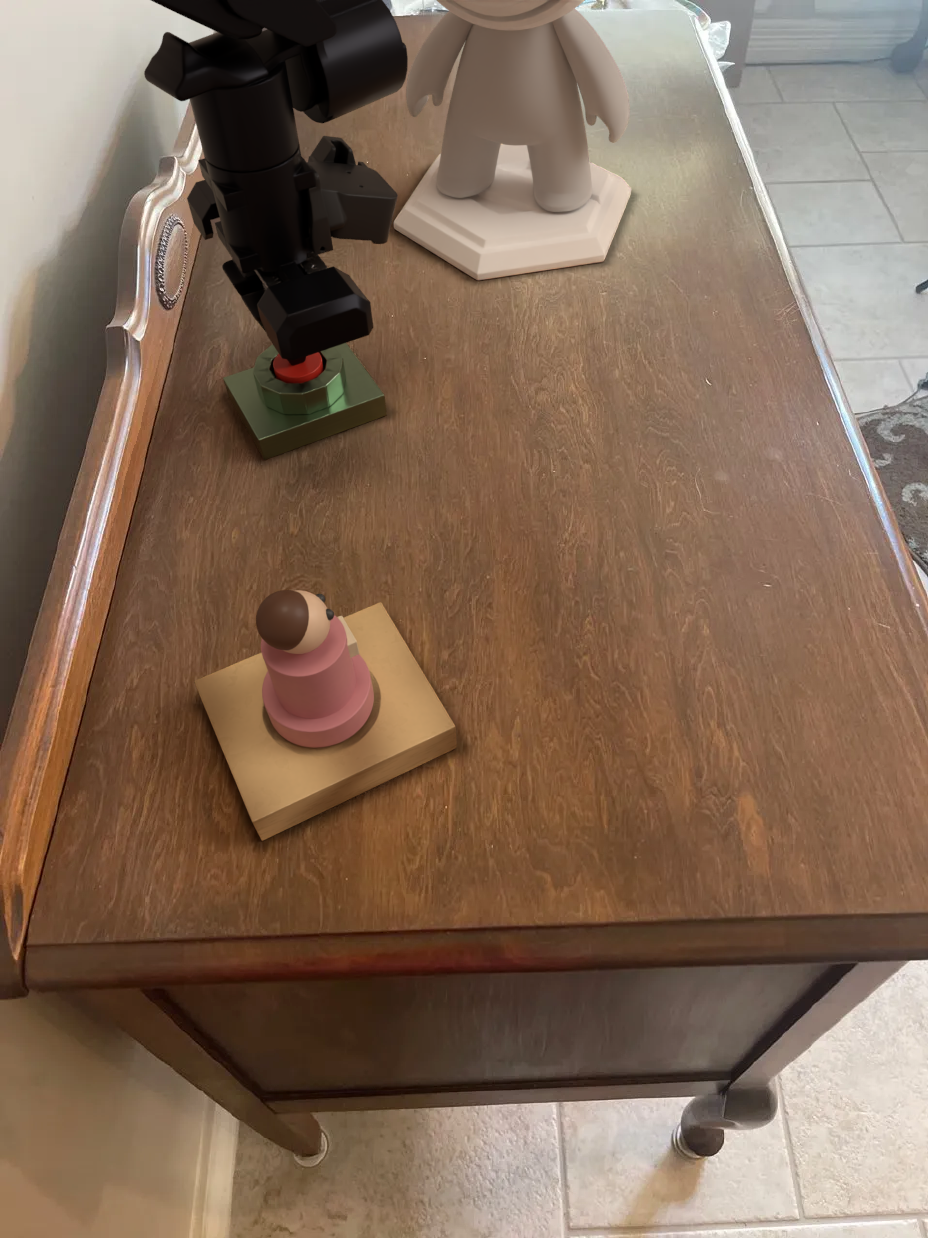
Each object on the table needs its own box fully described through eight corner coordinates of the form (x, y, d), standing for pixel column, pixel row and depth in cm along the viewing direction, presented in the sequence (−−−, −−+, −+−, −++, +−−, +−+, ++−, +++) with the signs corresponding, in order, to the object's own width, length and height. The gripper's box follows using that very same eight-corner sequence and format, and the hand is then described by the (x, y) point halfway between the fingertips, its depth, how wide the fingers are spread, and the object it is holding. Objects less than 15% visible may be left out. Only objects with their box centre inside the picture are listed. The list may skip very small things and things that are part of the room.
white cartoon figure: (371, 263, 82) (306, -273, 54) (452, 140, 95) (433, -346, 67) (588, 299, 78) (640, -261, 50) (642, 165, 91) (708, -341, 63)
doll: (292, 766, 50) (254, 668, 42) (252, 684, 53) (211, 579, 45) (391, 718, 51) (373, 616, 44) (347, 642, 54) (323, 534, 47)
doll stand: (262, 841, 50) (252, 822, 48) (204, 703, 55) (193, 680, 53) (457, 748, 53) (455, 726, 51) (384, 625, 58) (380, 601, 56)
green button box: (264, 460, 68) (252, 418, 65) (228, 397, 72) (216, 355, 69) (387, 415, 70) (381, 373, 67) (345, 357, 75) (338, 315, 71)
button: (287, 401, 68) (283, 382, 66) (270, 374, 70) (265, 355, 68) (332, 385, 69) (329, 366, 67) (314, 359, 71) (310, 340, 69)
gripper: (441, 182, 52) (452, 398, 65) (316, 58, 62) (346, 266, 75) (256, 237, 49) (305, 452, 62) (157, 98, 59) (216, 307, 72)
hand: (296, 361), depth 68 cm, fingers closed, pressing on button
